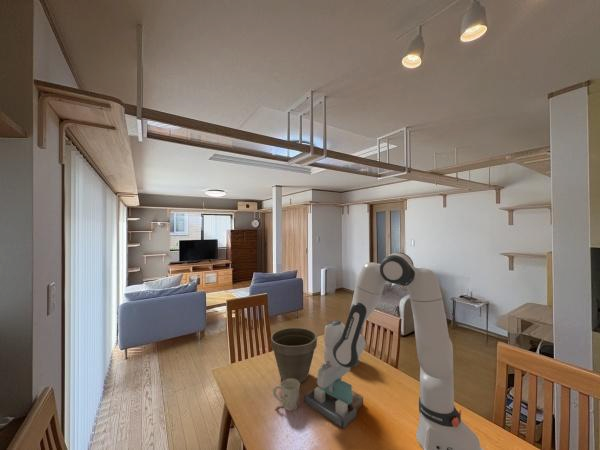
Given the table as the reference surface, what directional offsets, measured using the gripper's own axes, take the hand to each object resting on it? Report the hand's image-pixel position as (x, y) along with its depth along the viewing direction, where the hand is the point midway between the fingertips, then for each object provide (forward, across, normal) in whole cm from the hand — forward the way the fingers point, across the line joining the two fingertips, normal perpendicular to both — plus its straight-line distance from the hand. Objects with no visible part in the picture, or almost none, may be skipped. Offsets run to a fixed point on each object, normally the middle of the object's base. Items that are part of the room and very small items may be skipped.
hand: (334, 388), depth 113 cm
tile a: (+4, -2, -6) cm, 8 cm away
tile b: (+4, -2, +6) cm, 8 cm away
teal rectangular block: (+3, 0, 0) cm, 3 cm away
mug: (+7, -16, +15) cm, 23 cm away
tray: (+7, -4, 0) cm, 8 cm away
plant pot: (+7, +2, +29) cm, 30 cm away
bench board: (+7, +5, 0) cm, 9 cm away
